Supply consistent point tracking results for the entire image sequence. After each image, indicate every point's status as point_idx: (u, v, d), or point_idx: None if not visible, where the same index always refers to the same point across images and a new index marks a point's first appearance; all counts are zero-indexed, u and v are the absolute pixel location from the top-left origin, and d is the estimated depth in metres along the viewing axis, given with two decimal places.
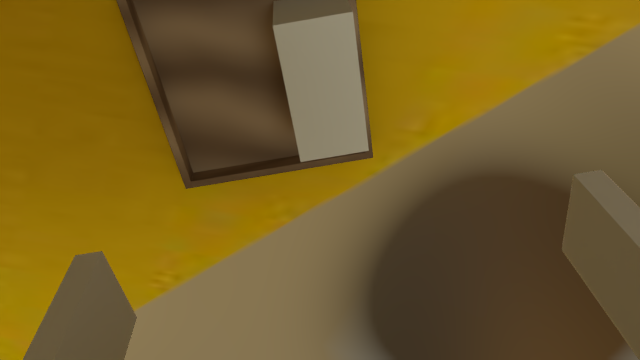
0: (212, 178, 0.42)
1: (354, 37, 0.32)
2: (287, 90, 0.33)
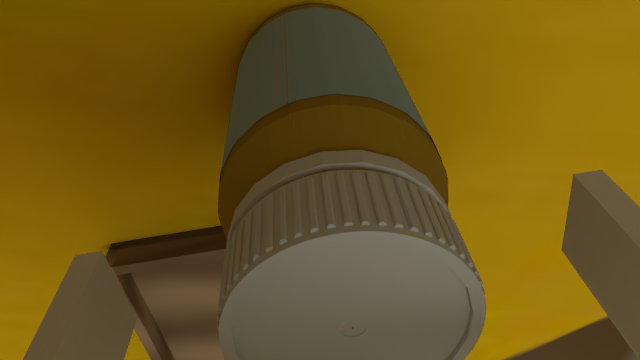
0: None
1: None
2: None
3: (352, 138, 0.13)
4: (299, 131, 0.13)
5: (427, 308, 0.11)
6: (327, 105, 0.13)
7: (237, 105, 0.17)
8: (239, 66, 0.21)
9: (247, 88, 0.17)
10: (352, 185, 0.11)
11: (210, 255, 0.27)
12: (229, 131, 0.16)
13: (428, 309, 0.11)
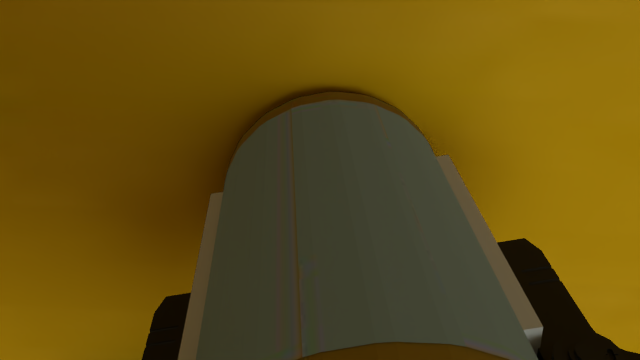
0: None
1: None
2: None
3: None
4: None
5: None
6: None
7: (216, 287, 0.11)
8: (226, 179, 0.15)
9: (232, 259, 0.11)
10: None
11: None
12: (202, 339, 0.10)
13: None
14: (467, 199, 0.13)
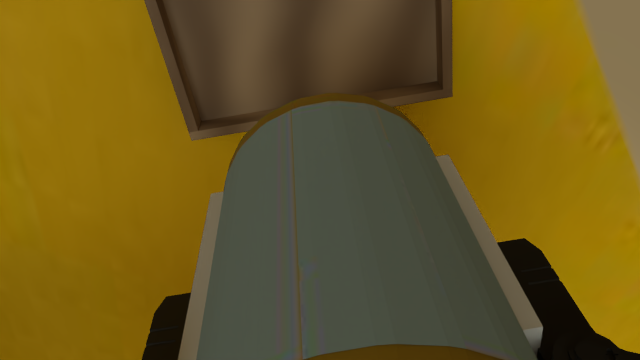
0: (443, 61, 0.31)
1: None
2: None
3: None
4: None
5: None
6: None
7: (216, 289, 0.11)
8: (226, 181, 0.15)
9: (233, 261, 0.11)
10: None
11: (166, 51, 0.29)
12: (202, 341, 0.10)
13: None
14: (467, 199, 0.13)
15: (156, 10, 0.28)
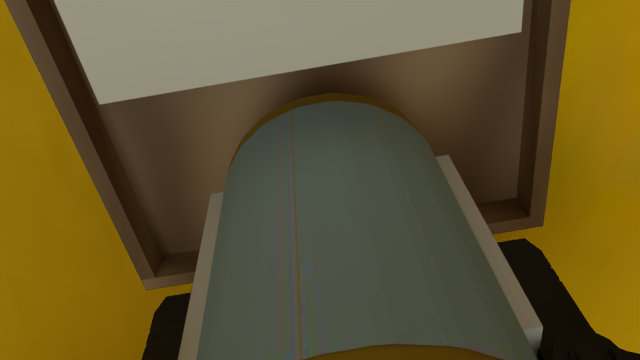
0: (534, 180, 0.20)
1: None
2: (280, 69, 0.12)
3: None
4: None
5: None
6: None
7: (217, 289, 0.11)
8: (226, 181, 0.15)
9: (233, 260, 0.11)
10: None
11: (98, 174, 0.18)
12: (202, 340, 0.10)
13: None
14: (467, 199, 0.13)
15: (75, 115, 0.17)
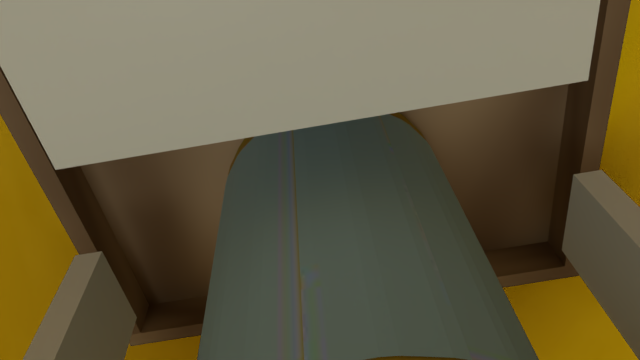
0: None
1: None
2: (283, 126, 0.09)
3: None
4: None
5: None
6: None
7: (216, 296, 0.10)
8: (226, 184, 0.15)
9: (233, 267, 0.10)
10: None
11: (72, 224, 0.16)
12: (202, 349, 0.10)
13: None
14: None
15: (43, 159, 0.14)
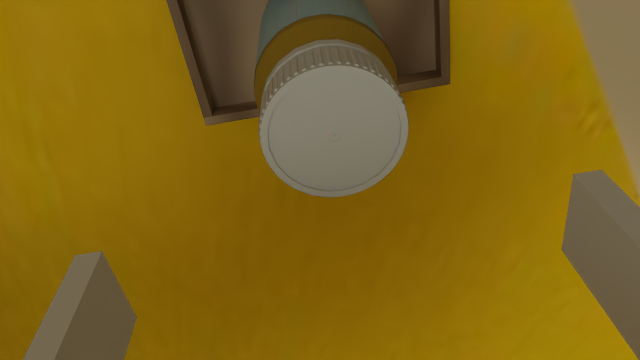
0: (441, 50, 0.33)
1: None
2: None
3: (335, 35, 0.22)
4: (304, 32, 0.22)
5: (375, 121, 0.20)
6: (321, 18, 0.22)
7: (264, 32, 0.26)
8: (262, 17, 0.31)
9: (270, 21, 0.26)
10: (333, 51, 0.20)
11: (184, 41, 0.32)
12: (259, 47, 0.26)
13: (376, 122, 0.20)
14: None
15: (175, 3, 0.30)
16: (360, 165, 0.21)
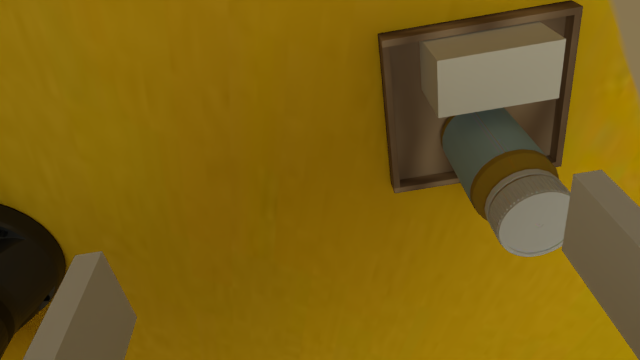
0: (558, 146, 0.50)
1: (457, 58, 0.39)
2: (490, 108, 0.42)
3: (533, 165, 0.38)
4: (514, 162, 0.39)
5: (563, 217, 0.37)
6: (521, 153, 0.39)
7: (469, 150, 0.43)
8: (448, 128, 0.47)
9: (473, 143, 0.43)
10: (541, 180, 0.37)
11: (393, 142, 0.48)
12: (469, 160, 0.42)
13: (563, 218, 0.37)
14: None
15: (393, 120, 0.47)
16: (548, 239, 0.38)
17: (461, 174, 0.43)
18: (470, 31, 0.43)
